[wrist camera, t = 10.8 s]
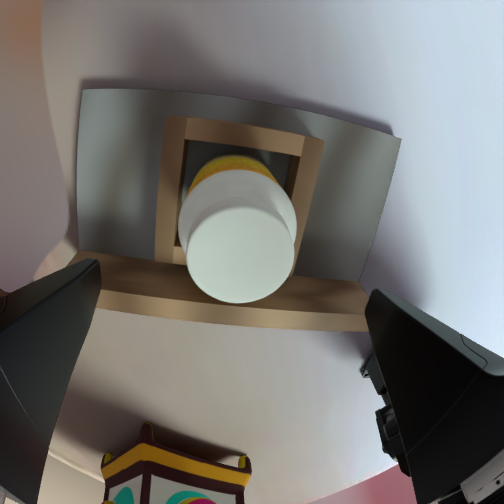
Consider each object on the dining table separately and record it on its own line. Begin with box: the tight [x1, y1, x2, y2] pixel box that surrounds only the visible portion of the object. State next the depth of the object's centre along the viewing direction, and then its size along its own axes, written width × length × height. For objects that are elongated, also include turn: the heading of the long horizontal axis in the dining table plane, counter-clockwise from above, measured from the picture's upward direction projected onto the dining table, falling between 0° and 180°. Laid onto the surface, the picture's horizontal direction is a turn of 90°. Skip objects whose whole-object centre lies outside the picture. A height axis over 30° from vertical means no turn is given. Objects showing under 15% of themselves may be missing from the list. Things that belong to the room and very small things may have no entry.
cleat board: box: [66, 89, 401, 332], centre depth 19 cm, size 22×14×6 cm, turn 80°
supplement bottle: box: [178, 152, 297, 303], centre depth 15 cm, size 5×5×10 cm
